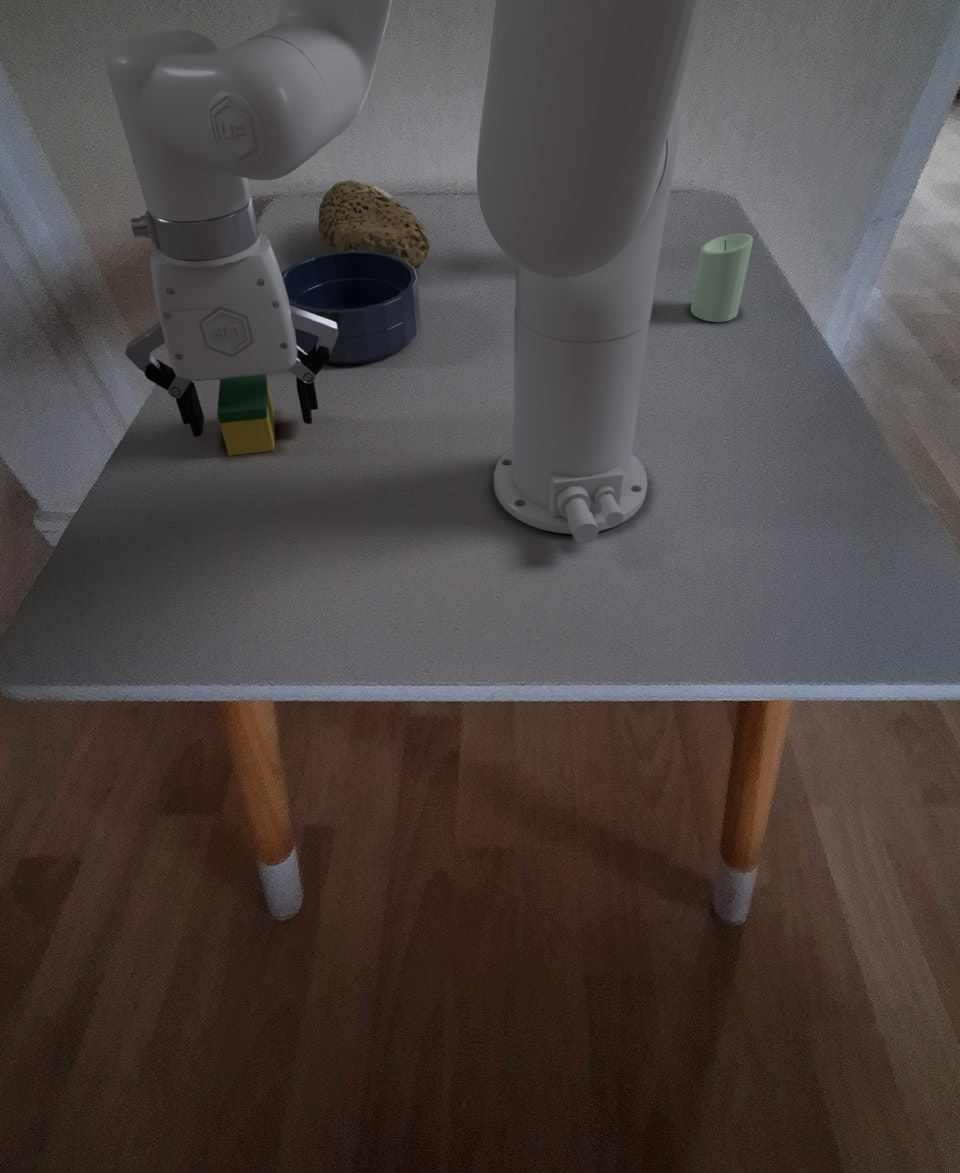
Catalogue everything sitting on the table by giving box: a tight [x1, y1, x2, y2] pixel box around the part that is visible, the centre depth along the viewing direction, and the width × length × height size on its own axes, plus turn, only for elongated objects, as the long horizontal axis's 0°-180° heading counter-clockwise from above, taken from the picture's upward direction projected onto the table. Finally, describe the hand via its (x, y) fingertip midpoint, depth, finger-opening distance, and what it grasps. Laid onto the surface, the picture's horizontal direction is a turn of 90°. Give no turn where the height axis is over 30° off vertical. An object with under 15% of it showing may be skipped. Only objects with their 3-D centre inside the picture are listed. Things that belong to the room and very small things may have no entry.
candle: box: [690, 233, 754, 323], centre depth 89 cm, size 5×5×8 cm
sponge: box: [318, 179, 431, 270], centre depth 102 cm, size 13×8×20 cm
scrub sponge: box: [216, 374, 276, 457], centre depth 75 cm, size 6×4×4 cm, turn 10°
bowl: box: [281, 250, 421, 366], centre depth 87 cm, size 14×14×6 cm
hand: (254, 421), depth 75 cm, fingers open, 9 cm apart
